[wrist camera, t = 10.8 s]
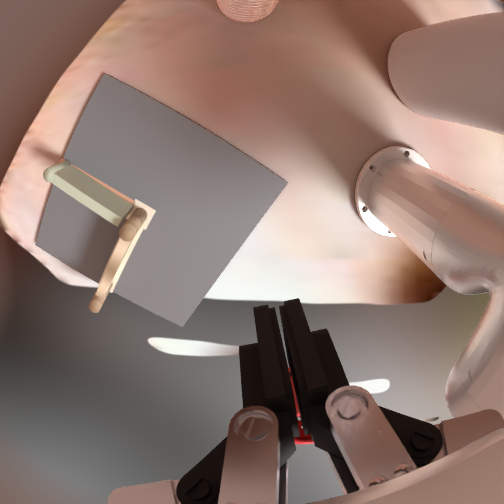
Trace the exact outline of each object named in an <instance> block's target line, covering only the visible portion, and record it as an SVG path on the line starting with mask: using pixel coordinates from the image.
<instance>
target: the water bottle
mask: <svg viewBox="0 0 504 504" xmlns="http://www.w3.org/2000/svg"><path fill="white" fill-rule="evenodd" d="M216 1H217V5H218V7H219V9H220V10H221V11H222V13H223V14H224V15H226V16H227V17H228V18H230V19H232V20H235V21H239V22H255V21H258V20H261V19H263V18H265V17H266V16H268V15H269V14H270V13H271V12H272V11H273V10H274V8H275V7H276V5H277V3H278V1H279V0H216Z"/></svg>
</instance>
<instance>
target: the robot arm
mask: <svg viewBox="0 0 504 504" xmlns="http://www.w3.org/2000/svg"><path fill="white" fill-rule="evenodd" d="M404 152H405V153H404ZM370 166H371V168H370ZM355 202H356V208H357V211H358V213H359V216H360V217H361V219H362V220H363V222H364V223H365V224H366V225H367V226H368V227H369V228H370V229H371V230H373V231H374V232H376V233H378V234H380V235H384V236H396V237H397V238H398V239H399V240H400V241H401V242H402V243H404V244H405V245H406V246H407V247H408V248H409V249H410V250H411V251H412V252H413V253H414V254H415V255H416V256H417V257H418V258H419V259H420V260H421V261H422V262H424V263H425V264H426V265H427V266H428V267H429V268H430V269H431V270H432V271H433V272H434V273H435V274H436V275H437V276H438V277H439V278H440V279H441V280H442V281H443V282H444V283H445V284H446V285H447V286H448V287H450V288H451V289H453V290H454V291H456V292H459V293H463V294H481V293H486V292H489V294H490V295H489V301H488V303H487V306H486V308H485V310H484V312H483V314H482V317H481V319H480V321H479V323H478V325H477V327H476V328H475V331H474V332H473V334H472V336H471V338H470V339H469V341H468V342H467V345H466V346H465V348H464V349H463V351H462V353H461V354H460V356H459V358H458V359H457V361H456V363H455V364H454V366H453V368H452V370H451V372H450V374H449V377H448V380H447V383H446V390H445V396H446V403H447V406H448V408H449V410H450V412H451V414H452V416H453V417H454V418H453V419H449V420H444V421H442V422H441V423H440V424H436V425H432V424H430V423H427V422H424V421H421V420H418V419H415V418H412V417H409V416H406V415H403V414H400V413H397V412H394V411H392V410H389V409H386V408H383V407H380V406H378V405H377V403H376V402H375V400H374V399H373V397H372V395H371V394H370V393H369V392H368V391H367V390H365V389H363V388H362V387H358V386H349V383H348V380H347V378H346V375H345V373H344V370H343V367H342V365H341V362H340V360H339V357H338V355H337V352H336V350H335V347H334V345H333V342H332V340H331V338H330V335H329V332H328V330H327V329H321V330H317V331H313V332H310V329H309V326H308V323H307V320H306V317H305V314H304V311H303V308H302V306H301V303H300V300H299V298H297V299H293V300H288V301H284V305H283V306H279V309H280V315H281V321H282V327H283V333H284V340H285V346H286V352H287V358H288V363H289V367H290V372H291V376H292V381H293V385H294V390H295V394H296V398H297V403H298V407H299V412H300V416H301V421H302V425H303V430H304V434H305V435H309V434H311V439H312V441H314V444H315V446H316V447H318V448H320V449H322V450H324V451H325V452H326V455H327V457H328V459H329V462H330V464H331V466H332V468H333V470H334V473H335V475H336V477H337V479H338V481H339V483H340V486H341V488H342V490H343V492H344V494H345V495H342V496H338V497H335V498H330V499H326V500H321V501H318V502H312V503H307V504H504V205H503V204H501V203H499V202H497V201H495V200H493V199H491V198H489V197H488V196H486V195H484V194H482V193H480V192H478V191H476V190H474V189H472V188H470V187H468V186H466V185H464V184H462V183H460V182H458V181H455V180H453V179H451V178H449V177H447V176H445V175H442V174H440V173H438V172H436V171H433V170H431V168H430V166H429V164H428V163H427V161H426V160H425V158H424V157H422V156H421V155H420V154H419V153H418V152H416V151H414V150H412V149H410V148H407V147H402V146H391V147H388V148H384V149H382V150H380V151H379V152H377V153H375V154H374V155H373V156H372V157H371V158H370V159H369V160H368V161H367V162H366V163H365V165H364V166H363V168H362V170H361V172H360V174H359V176H358V179H357V182H356V188H355ZM362 208H363V209H362ZM253 309H254V316H255V324H256V332H257V339H258V343H254V344H249V345H243V346H239V356H240V371H241V385H242V398H243V409H241V410H240V411H238V412H237V413H236V414H235V415H234V416H233V418H232V419H231V421H230V424H229V428H228V435H227V437H226V438H225V439H224V440H223V441H222V442H221V443H220V444H219V445H218V446H216V447H215V448H214V449H213V450H212V451H211V452H210V453H209V454H208V455H207V456H206V457H205V458H203V459H202V460H201V461H200V462H199V463H198V464H197V465H196V466H195V467H194V468H192V469H191V470H190V471H189V472H188V473H187V474H185V475H184V476H183V477H182V478H181V479H180V480H175V481H171V480H165V481H159V482H153V483H148V484H141V485H134V486H126V487H120V488H117V489H115V490H114V491H112V492H111V494H110V495H109V497H108V504H287V495H288V493H287V492H288V459H289V458H290V457H291V455H292V454H293V453H294V452H295V451H296V446H295V441H294V438H295V437H300V433H299V426H298V419H297V412H296V406H295V399H294V393H293V388H292V383H291V378H290V374H289V369H288V365H287V360H286V356H285V352H284V347H283V343H282V338H281V334H280V329H279V325H278V320H277V316H276V312H275V308H274V307H273V308H269V307H268V305H263V306H259V307H254V308H253Z"/></svg>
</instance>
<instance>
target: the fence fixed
mask: <svg viewBox="0 0 504 504" xmlns="http://www.w3.org/2000/svg"><path fill="white" fill-rule="evenodd" d="M146 218H147V212H146V210H145V209H143V208H137V209H136V210H135V211H134V212H133V213H132V215H131V216H130V217H129V219H128V220H127V221H126V222H125V224H124V225H123V226H122V228H121V229H120V231H119V236H120V240H119V242H118V244H117V246H116V248H115V250H114V253H113V255H112V257H111V259H110V262H109V264H108V266H107V268H106V271H105V273H104V275H103V278H102V280H101V283H100V285H99V287H98V290H97V291H96V293H95V295H94V297H93V298H92V300H91V302H90V304H89V309H90V310H91V311H92V312H94V313H97V312H99V310H100V309H101V307H102V305H103V303H104V301H105V299H106V297H107V295H108V293H109V291H110V289H111V287H112V285H113V283H112V282H113V280H114V278H115V275H116V273H117V271H118V269H119V267H120V265H121V263H122V261H123V259H124V256H125V254H126V252H127V250H128V248H129V246H130V244H131V242H132V240H133V239H134V237H135V236H136V234H137V232H138V231H139V229H140V228H141V226H142V225H143V223H144V221H145V220H146Z"/></svg>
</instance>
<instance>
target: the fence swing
mask: <svg viewBox="0 0 504 504" xmlns="http://www.w3.org/2000/svg"><path fill="white" fill-rule="evenodd" d="M43 176H44V179H45V180H46V181H47V182H51V183H52V184H54V185H55V186H57V187H58V188H60V189H61V190H63V191H64V192H65V193H67V194H68V195H70V196H71V197H73V198H74V199H76V200H77V201H79V202H80V203H82V204H83V205H85V206H86V207H88V208H89V209H91V210H92V211H94V212H95V213H97V214H98V215H100V216H101V217H103V218H104V219H106V220H108V221H109V222H111V223H112V224H114V225H115V226H117V227H118V226H119V224H120V223H121V222H122V221H123V220H124V218H125V217H126V216H127V215H128V213H129V212H130V210H131V208H132V207H133V205H132V204H130V203H129V202H127V201H126V200H124V199H123V198H121V197H120V196H118V195H116V194H115V193H113V192H112V191H110V190H109V189H107V188H106V187H104V186H103V185H101V184H100V183H98V182H97V181H95V180H94V179H92V178H91V177H89V176H88V175H86V174H85V173H83V172H81V171H80V170H78V169H77V168H75V167H74V166H72V165H71V163H70V162H69V161H67V160H65V161H63V162H60V163H58V164H56V165H54V166H52V167H49V168H47V169H46V170H45V171H44V173H43Z"/></svg>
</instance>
